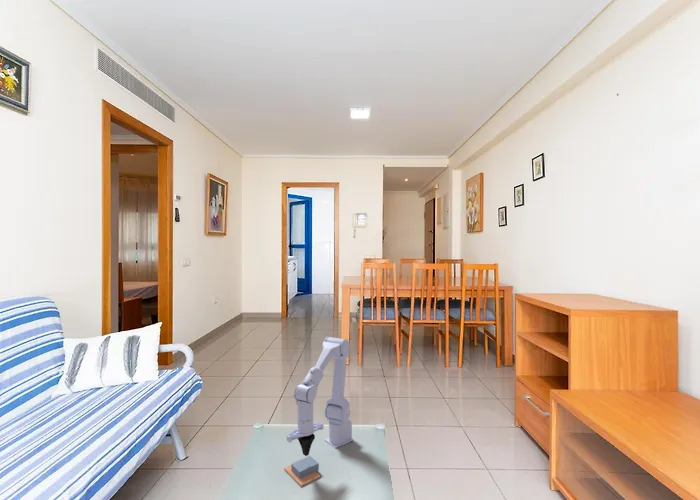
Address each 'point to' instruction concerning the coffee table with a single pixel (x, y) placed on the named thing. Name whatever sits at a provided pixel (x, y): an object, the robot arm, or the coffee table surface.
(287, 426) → the coffee table surface
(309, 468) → the slab
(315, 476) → the mat
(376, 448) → the coffee table surface
